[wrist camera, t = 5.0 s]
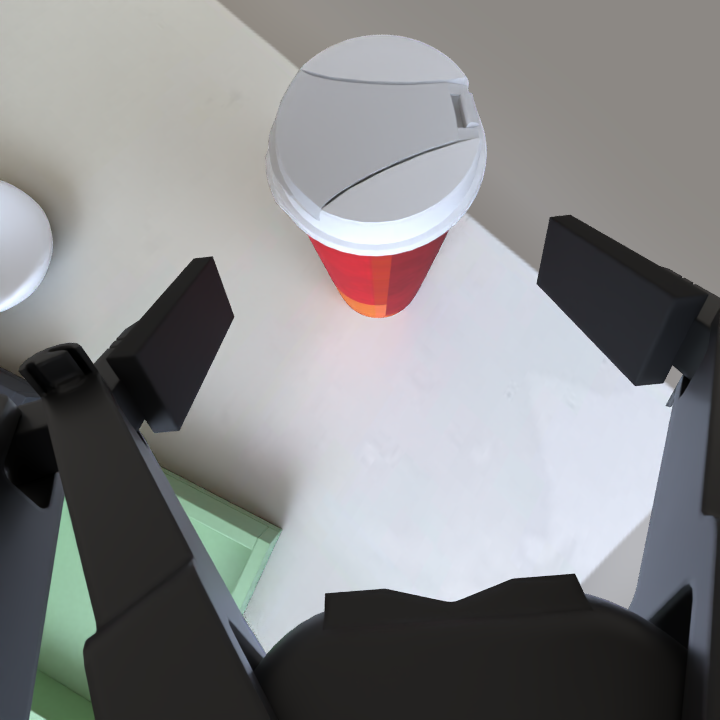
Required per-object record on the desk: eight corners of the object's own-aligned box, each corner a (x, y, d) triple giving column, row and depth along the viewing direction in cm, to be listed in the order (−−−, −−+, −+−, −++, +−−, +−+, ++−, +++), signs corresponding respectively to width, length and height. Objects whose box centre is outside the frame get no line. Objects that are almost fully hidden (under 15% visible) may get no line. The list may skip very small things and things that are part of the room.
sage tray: (282, 529, 24) (270, 543, 21) (176, 758, 22) (149, 804, 20) (94, 432, 25) (62, 434, 23) (-16, 640, 24) (-64, 668, 21)
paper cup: (423, 219, 26) (471, -1, 12) (443, 323, 25) (522, 213, 11) (314, 238, 26) (241, 44, 12) (330, 342, 25) (268, 258, 11)
